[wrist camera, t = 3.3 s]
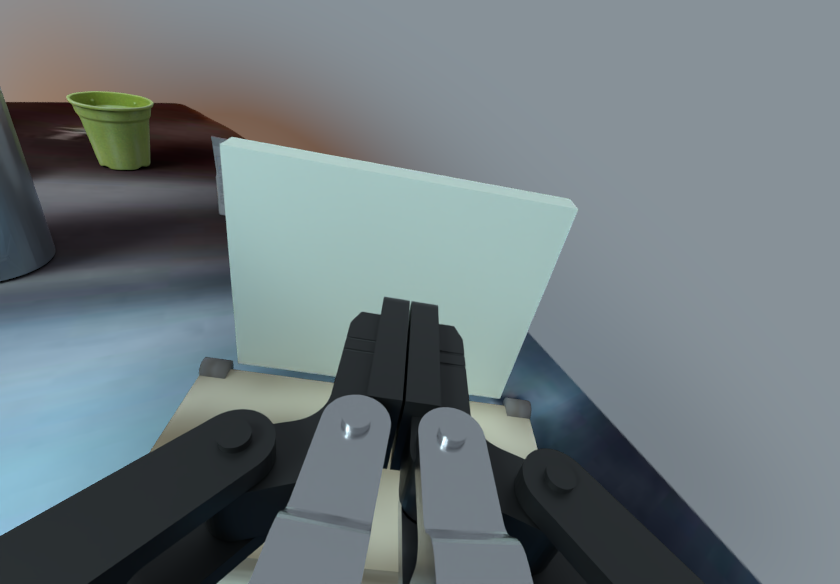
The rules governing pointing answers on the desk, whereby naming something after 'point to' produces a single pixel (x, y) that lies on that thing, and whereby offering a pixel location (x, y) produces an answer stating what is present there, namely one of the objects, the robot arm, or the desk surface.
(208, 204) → the desk surface
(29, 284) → the desk surface
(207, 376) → the wooden base board
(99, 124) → the plant pot
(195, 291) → the desk surface
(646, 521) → the desk surface
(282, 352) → the panel
